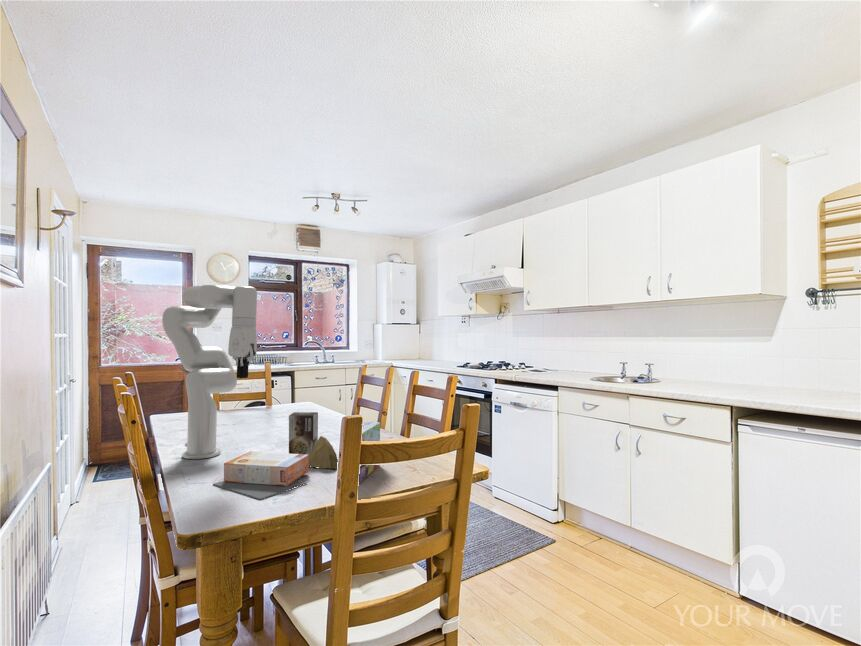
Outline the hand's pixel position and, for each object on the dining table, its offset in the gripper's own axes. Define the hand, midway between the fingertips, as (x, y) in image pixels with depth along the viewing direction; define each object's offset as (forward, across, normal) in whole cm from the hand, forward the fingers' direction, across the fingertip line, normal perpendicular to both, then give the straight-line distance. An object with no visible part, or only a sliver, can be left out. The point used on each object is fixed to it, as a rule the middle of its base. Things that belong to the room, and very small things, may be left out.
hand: (242, 377), depth 153 cm
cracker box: (+26, +9, -6) cm, 29 cm away
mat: (+29, +21, -6) cm, 37 cm away
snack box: (+29, +38, +19) cm, 52 cm away
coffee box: (+30, +8, +20) cm, 37 cm away
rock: (+30, +22, +17) cm, 41 cm away
